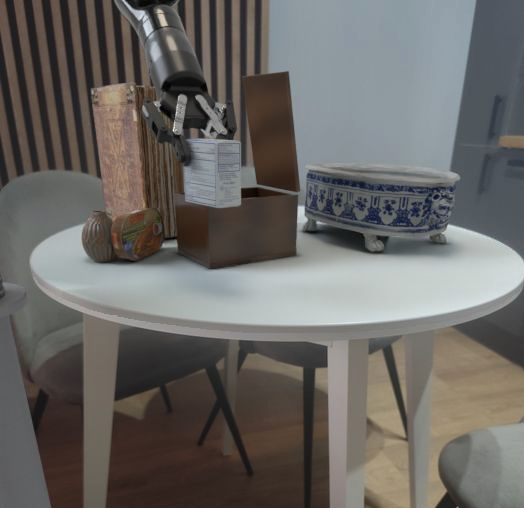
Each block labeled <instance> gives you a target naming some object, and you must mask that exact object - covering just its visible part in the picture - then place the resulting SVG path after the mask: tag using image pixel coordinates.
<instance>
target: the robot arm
mask: <svg viewBox="0 0 524 508" xmlns="http://www.w3.org/2000/svg"><path fill="white" fill-rule="evenodd" d="M113 2H114V4H115V6H116V8H117V10H118V11H119V12H120V14H121V15H122V17H123V18H124V19H125V20H126V21H127V23H129V25H130V26H131V27H132V29H133V30H134V31H135V33H136V35H137V36H138V39H139V42H140V45H141V48H142V52H143V54H144V58H145V63H146V67H147V72H148V75H149V77H150V79H151V82H152V85H153V86H154V88H155V91H156V94H157V97H158V100H159V101H152V99H151V98H148V97H145V98H144V101H143V107H142V116H143V117H144V119H145V121H146V123H147V124H148V126H149V128H150V130H151V131H152V133H153V135H154V136H155V138H156V140H157V141H158V142H159V143H164V142H168V143H170V144H171V146H173V149H174V152H175V155H176V158H177V160H178V162H179V163H182V165H183V168H184V167H188V166H189V164H190V161H191V154H190V151H189V148H188V145H187V143H186V140H185V139H186V137H185V135H182V133H183V130H189V129H195V130H200V131H201V133H202V134H203V135H204V137H206V138H208V137H209V139H220V140H234V137H235V135H236V132H237V131H238V126H237V120H236V119H237V118H236V113H235V106H234V102H233V101H232V100H231V99H226V100H225V102H224V103H222V102H217V101H216V100H215V99H214V98H213V97H212V96H211V94H210V93H209V89H208V84H207V81H206V78H205V76H204V73H203V71H202V68H201V65H200V62H199V60H198V57H197V54H196V52H195V49H194V47H193V45H192V43H191V42H190V40H189V38H188V35H187V33H186V29H185V28H184V25H183V22H182V19H181V17H180V16H179V13H178V12H177V10H175V8H174V7H175V6H176V5H178V3H179V2H180V0H113ZM160 111H161V112H162V113H163V114H164V115H165V116H166V117H168V118H169V119H170V120H171V121H172V122H173V125H172V129H170V128H168V126H167V125H166V123H165V121H164V120H163V118H162V116H161V115H160ZM220 121H221V122H222V123H221V122H220ZM3 282H4V281H3V278H2V275H1V273H0V298H2V297H3V296H4V295H5V289H4V286H3V284H2V283H3Z"/></svg>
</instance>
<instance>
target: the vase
mask: <svg viewBox="0 0 524 508" xmlns="http://www.w3.org/2000/svg"><path fill="white" fill-rule="evenodd" d="M112 225H113V221H112V220H111V219H110V218H109V217H108V216H107V214H106V211H105V210H104V209H103V210H102V209H96V210H92V211H90V214H89V217H88V219H87V220H86V221H85V223H84V226H83V227H82V231H81V245H82V248H83V251H84V252H85V254H86V255H87V256H88V258H89V259H91V260H92V261H93V262H96V263H98V262H99V263H107V262H111V261H114V260H116V258H117V257H118V256H117V254H116V253H115V251H114V247H113V243H112V236H111V228H112Z"/></svg>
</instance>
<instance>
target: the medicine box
mask: <svg viewBox="0 0 524 508" xmlns="http://www.w3.org/2000/svg"><path fill="white" fill-rule="evenodd" d="M185 140H186V143H187V145H188V148H189V151H190V154H191V161H190V164H189V166H188V167H183V178H184V192H185V201H187V202H192V203H197V204H201V205H206V206H211V207H216V208H228V207H237V206H239V205H241V188H242V142H241V141H240V140H234V139H233V140H220V139H211V138H185Z"/></svg>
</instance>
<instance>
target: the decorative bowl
mask: <svg viewBox="0 0 524 508" xmlns="http://www.w3.org/2000/svg"><path fill="white" fill-rule="evenodd" d="M304 168H305V169H306V170H308V172H307V173H306V181H305V182H306V183H305V200H304V201H305V202H304V217H305V218H306V219H307V220H306V222H305V223H304V224H303V225H302V232H312V231H316V230H317V228H318V225H317V222H319V223H322V224H325V225H328V226H332V227H335V228H339V229H343V230H347V231H348V230H349V231H351V232H356V233H360V234H362V235H363V237H364V247H365V249H367V250H368V251H370V252H374V253H375V252H380V251H384V250H385V244H384V243H383V240H380V239H378V238H377V236H380V237H397V238H424V237H429V240H430V241H431V242H433V243H438V244H443V245H444V244H446V243H447V237H446V234H445V233H444V232H446V231H447V229H448V226H449V223H450V218H451V216H452V210H453V208H454V206H455V202H456V199H455V197H456V194H455V192H456V189H457V185H456V182H459V181H460V180H461V176H460V174H459V173H456V172H453V171H451V170H445V169H439V168H433V167H425V166H413V165H403V164H401V165H400V164H385V163H360V162H358V163H357V162H355V163H354V162H353V163H351V162H349V163H347V162H346V163H343V162H341V163H340V162H339V163H318V164H317V163H309V164H306V165H305V166H304Z"/></svg>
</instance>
